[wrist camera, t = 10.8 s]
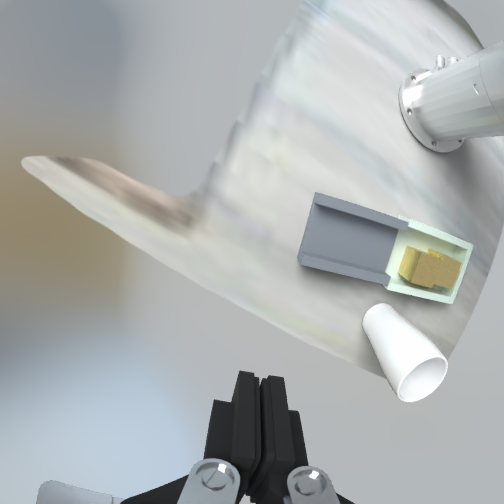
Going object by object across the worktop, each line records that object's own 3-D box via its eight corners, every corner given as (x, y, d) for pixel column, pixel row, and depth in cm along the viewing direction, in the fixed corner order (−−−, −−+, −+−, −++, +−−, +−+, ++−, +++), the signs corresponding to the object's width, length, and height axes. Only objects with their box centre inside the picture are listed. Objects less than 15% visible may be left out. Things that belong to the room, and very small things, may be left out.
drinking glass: (405, 307, 36) (458, 362, 22) (380, 343, 38) (420, 407, 24) (373, 289, 36) (426, 347, 21) (347, 328, 37) (384, 398, 23)
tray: (398, 215, 33) (410, 218, 30) (460, 239, 34) (473, 245, 30) (377, 280, 35) (387, 289, 32) (440, 295, 36) (452, 304, 33)
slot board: (315, 192, 33) (320, 193, 30) (397, 218, 33) (408, 222, 30) (297, 257, 35) (300, 264, 32) (378, 277, 35) (387, 285, 32)
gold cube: (406, 245, 34) (421, 252, 30) (427, 252, 34) (442, 260, 30) (397, 272, 35) (410, 282, 31) (417, 278, 35) (431, 288, 31)
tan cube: (428, 248, 34) (443, 255, 30) (446, 255, 34) (461, 262, 30) (419, 274, 35) (433, 284, 31) (437, 279, 35) (451, 289, 31)
